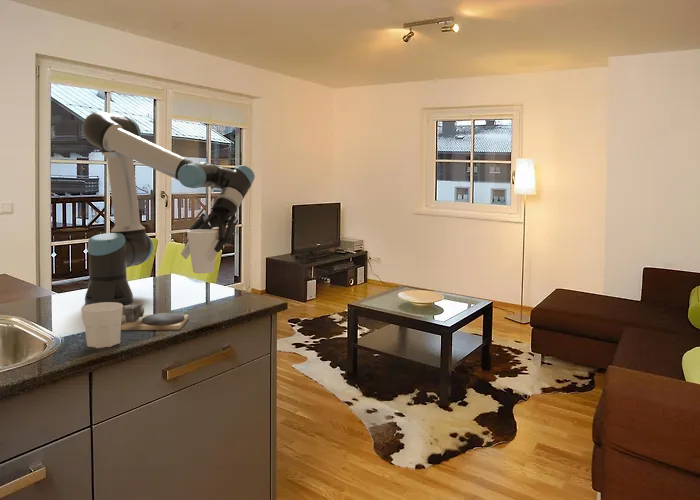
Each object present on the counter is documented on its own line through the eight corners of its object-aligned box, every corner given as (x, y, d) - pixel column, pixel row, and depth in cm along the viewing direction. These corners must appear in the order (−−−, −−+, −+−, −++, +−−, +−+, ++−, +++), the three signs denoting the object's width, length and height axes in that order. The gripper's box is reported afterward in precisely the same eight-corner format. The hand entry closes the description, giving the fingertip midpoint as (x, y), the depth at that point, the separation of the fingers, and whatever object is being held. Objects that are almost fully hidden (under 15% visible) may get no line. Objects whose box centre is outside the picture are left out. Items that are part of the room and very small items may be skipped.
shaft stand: (101, 330, 156) (100, 308, 155) (115, 318, 168) (114, 299, 167) (179, 329, 158) (179, 308, 157) (188, 318, 170) (187, 298, 169)
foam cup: (210, 275, 168) (209, 233, 166) (182, 273, 170) (181, 232, 168) (223, 269, 178) (222, 229, 176) (197, 268, 179) (196, 228, 177)
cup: (74, 346, 142) (72, 309, 140) (103, 335, 151) (102, 300, 150) (103, 351, 138) (102, 313, 137) (132, 340, 148) (131, 304, 146)
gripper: (259, 213, 180) (230, 268, 168) (206, 210, 189) (175, 261, 178) (250, 197, 175) (219, 253, 163) (195, 195, 184) (162, 247, 172)
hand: (196, 257), depth 170 cm, fingers closed on foam cup, 9 cm apart
